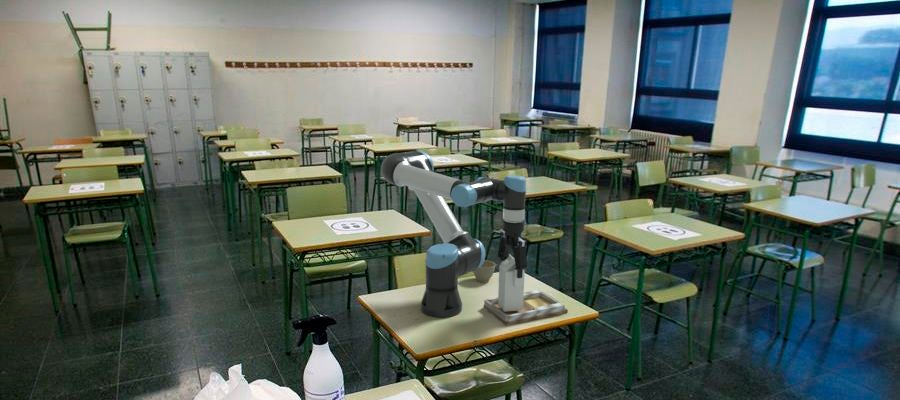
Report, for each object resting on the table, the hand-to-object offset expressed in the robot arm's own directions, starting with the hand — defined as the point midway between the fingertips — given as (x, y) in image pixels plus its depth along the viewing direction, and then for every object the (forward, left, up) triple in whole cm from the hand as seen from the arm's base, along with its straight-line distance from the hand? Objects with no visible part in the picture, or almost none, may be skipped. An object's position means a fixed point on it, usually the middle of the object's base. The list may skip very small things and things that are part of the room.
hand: (511, 281), depth 184 cm
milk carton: (0, 0, -10) cm, 10 cm away
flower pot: (-18, +29, -12) cm, 36 cm away
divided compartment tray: (+5, +5, -12) cm, 14 cm away
